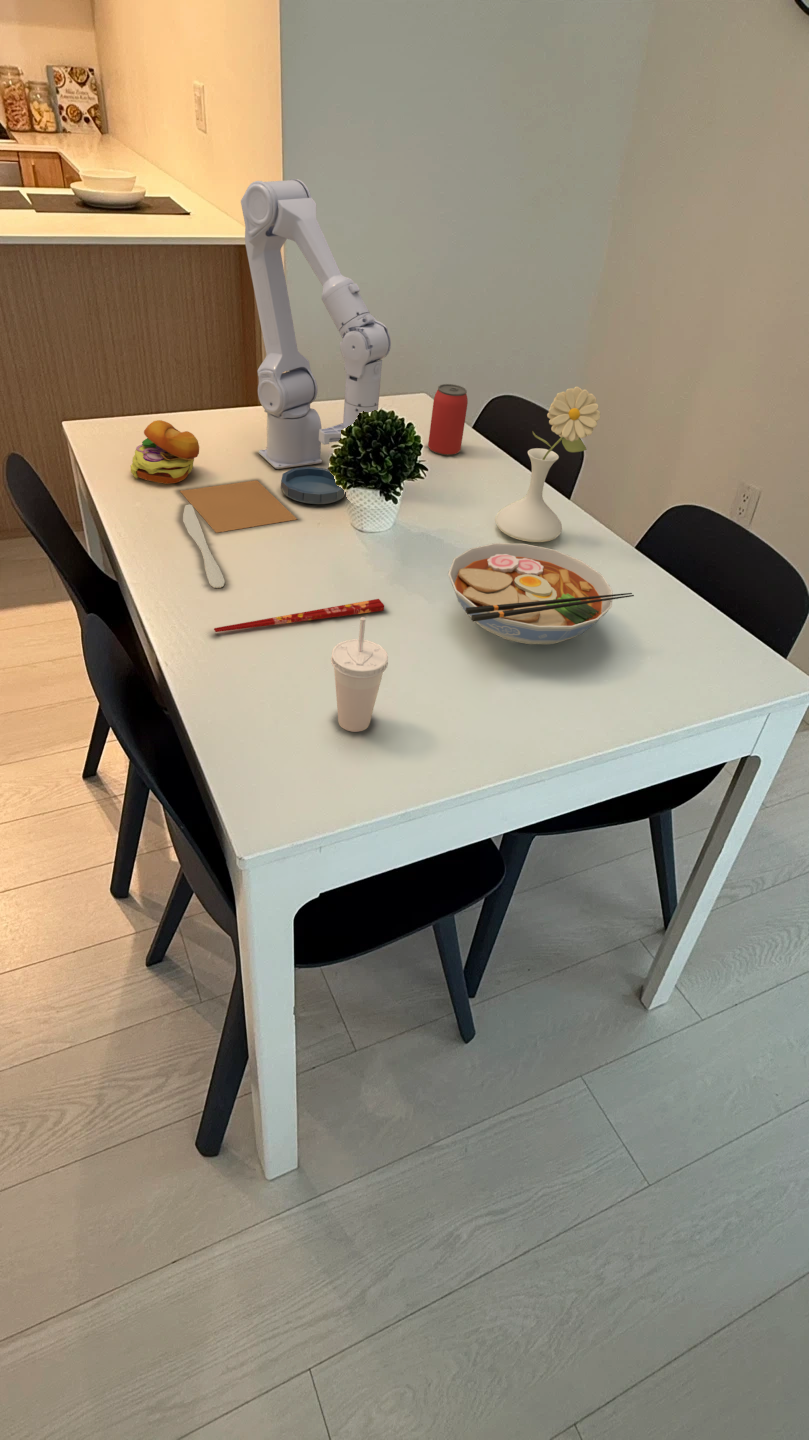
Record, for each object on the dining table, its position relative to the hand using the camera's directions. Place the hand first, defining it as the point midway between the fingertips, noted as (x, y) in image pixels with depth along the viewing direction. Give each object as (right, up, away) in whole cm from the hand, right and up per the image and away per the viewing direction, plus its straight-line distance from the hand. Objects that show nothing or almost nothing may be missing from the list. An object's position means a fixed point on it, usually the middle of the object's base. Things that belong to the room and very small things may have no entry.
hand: (355, 478), depth 153 cm
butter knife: (-23, -16, -21) cm, 35 cm away
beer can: (+16, +11, +19) cm, 28 cm away
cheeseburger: (-33, 0, -3) cm, 33 cm away
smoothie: (+3, -43, -51) cm, 66 cm away
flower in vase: (+30, -11, -6) cm, 33 cm away
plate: (-7, -3, -3) cm, 8 cm away
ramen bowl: (+25, -30, -30) cm, 49 cm away
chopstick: (-5, -29, -35) cm, 46 cm away
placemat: (-19, -7, -9) cm, 22 cm away
